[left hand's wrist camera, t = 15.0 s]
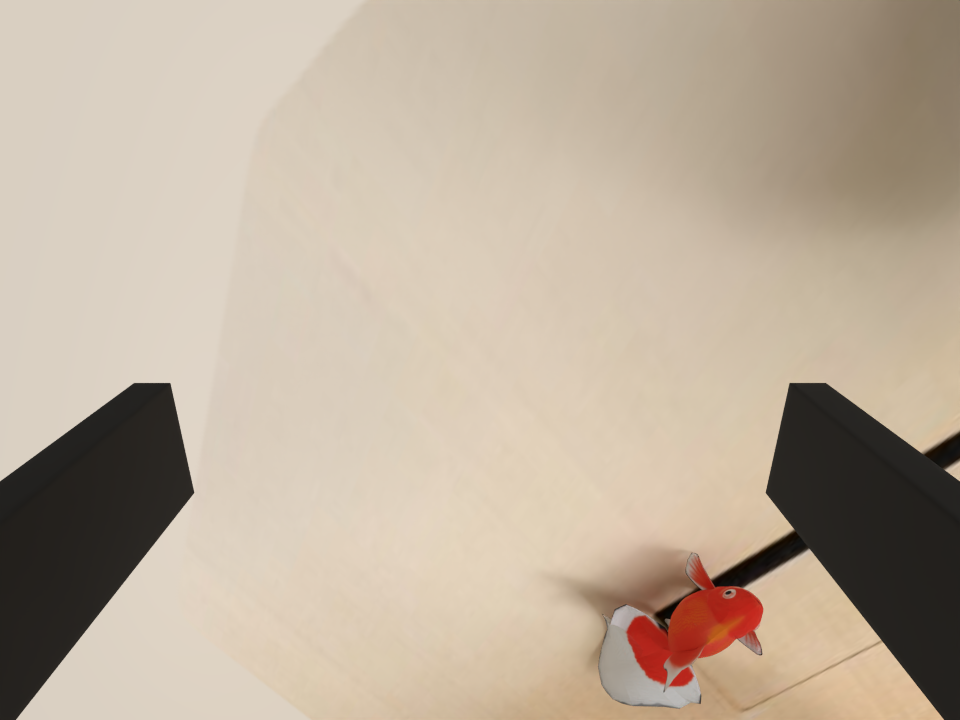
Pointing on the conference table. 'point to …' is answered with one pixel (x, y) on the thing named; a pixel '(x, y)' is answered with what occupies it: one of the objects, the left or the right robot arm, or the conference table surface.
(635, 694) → the fish
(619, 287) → the conference table surface
